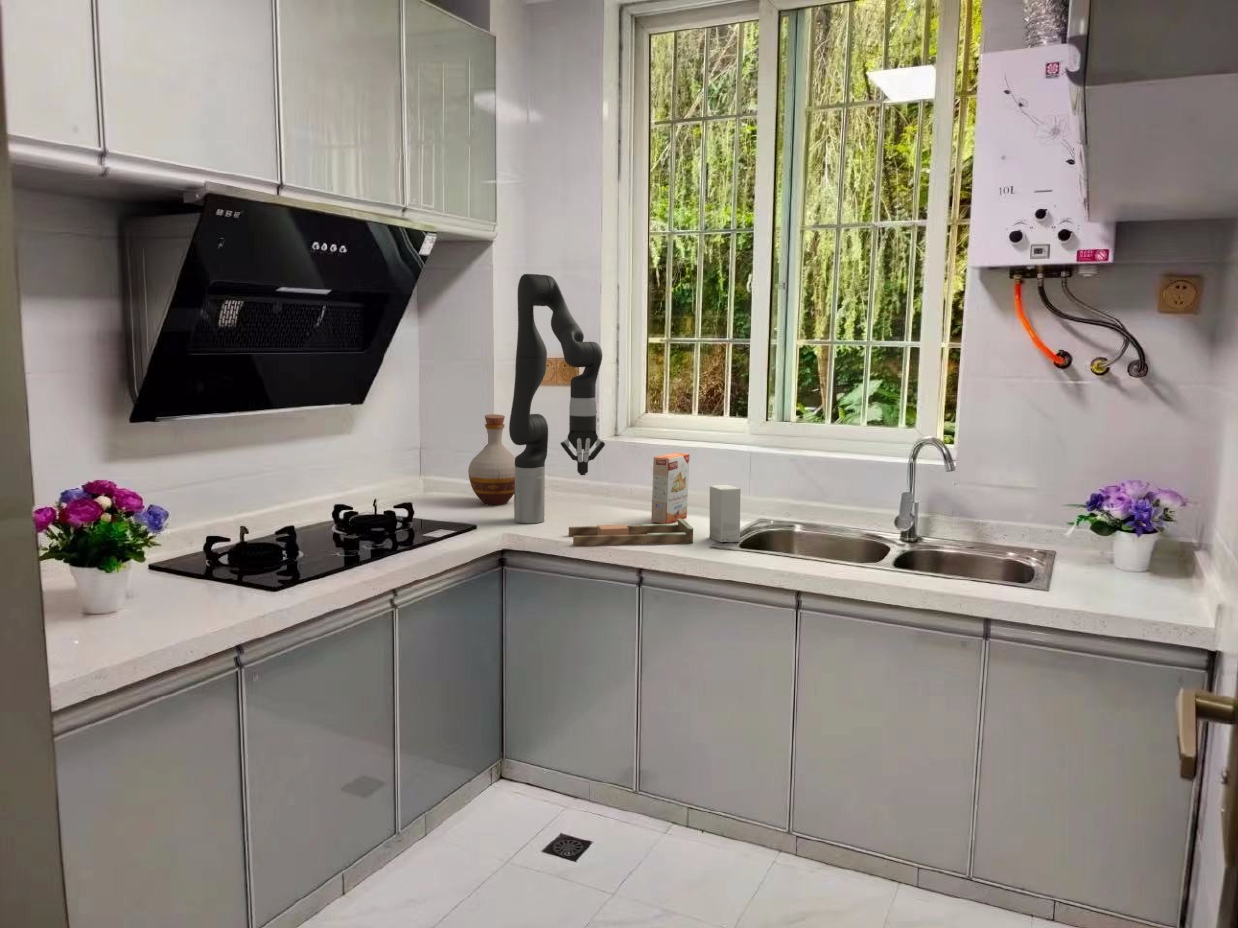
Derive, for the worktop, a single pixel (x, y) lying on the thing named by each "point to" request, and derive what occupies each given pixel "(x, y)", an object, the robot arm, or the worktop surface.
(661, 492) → the cracker box
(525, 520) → the robot arm
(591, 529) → the track
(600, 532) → the terracotta block
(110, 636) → the worktop surface
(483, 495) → the jug
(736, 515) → the skincare box
